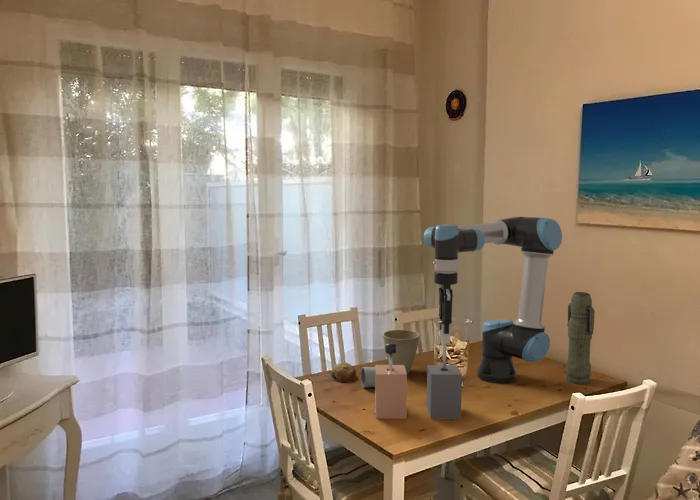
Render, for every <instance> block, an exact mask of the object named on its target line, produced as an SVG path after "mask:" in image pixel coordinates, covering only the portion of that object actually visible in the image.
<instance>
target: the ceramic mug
mask: <svg viewBox="0 0 700 500" xmlns="http://www.w3.org/2000/svg"><path fill="white" fill-rule="evenodd" d="M360 383H361V387H362V388H365V389H366V388H375V366H373V367H372V366H363V367H362V368H361V370H360Z"/></svg>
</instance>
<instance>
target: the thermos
mask: <svg viewBox="0 0 700 500" xmlns="http://www.w3.org/2000/svg"><path fill="white" fill-rule="evenodd" d="M594 328H595V309H594V307H593V300H592V297H591V294H590V293H588V292H585V291H584V292H583V291H576V292H574V293H573V294H572V296H571V300H570V303H569V304H568V306H567V329H568V330H567V337H568V350H567V351H568V353H567V354H568V355H567V356H568V357H567V358H568V359H567V361H566V364H565V365H566V366H565V367H566V368H565V372H566V373H565V374H566V378H565V379H566V381H567V382H568V383H571V384H576V385H587V384H589V383H590V378H591V368H592V366H591V365H592V364H591V362H590V359H591V358H590V357H591V355H590V354H591V341H592V338H593V334H594Z"/></svg>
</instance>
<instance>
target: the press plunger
mask: <svg viewBox="0 0 700 500" xmlns="http://www.w3.org/2000/svg"><path fill="white" fill-rule="evenodd" d="M384 349H385V354H386V353H389V362H388V365H389V371H392V354H393V353H396V343H391V342H390V343H386V344H385V346H384Z"/></svg>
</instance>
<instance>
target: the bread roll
mask: <svg viewBox="0 0 700 500" xmlns="http://www.w3.org/2000/svg"><path fill="white" fill-rule="evenodd" d="M331 368H332V369H331V371H330V376H331V379H332V380H334V381H336V382H341V383H345V382H346V383H347V382H351V381H354V380H355V379H356V377H357V370H356V369H355V367H354V366H353V365H352V364H351V363H348V362H339V363H336V364H334V366H332V367H331Z"/></svg>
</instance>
